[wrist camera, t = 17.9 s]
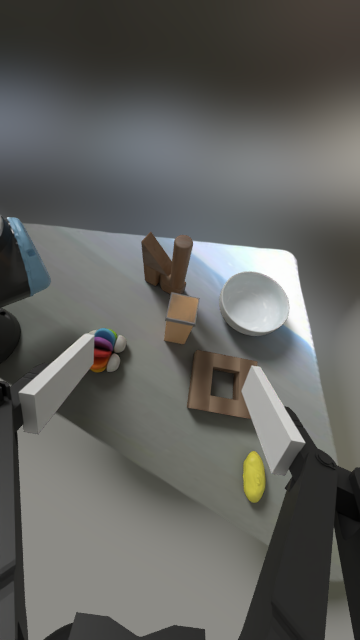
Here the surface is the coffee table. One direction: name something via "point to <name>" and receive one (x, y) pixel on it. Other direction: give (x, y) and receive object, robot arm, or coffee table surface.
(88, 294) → the coffee table surface
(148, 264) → the wooden v-shaped piece
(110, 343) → the rainbow petal toy
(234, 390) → the header block
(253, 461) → the yellow oblong piece
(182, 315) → the plug
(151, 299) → the coffee table surface
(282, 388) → the coffee table surface
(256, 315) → the cereal bowl
